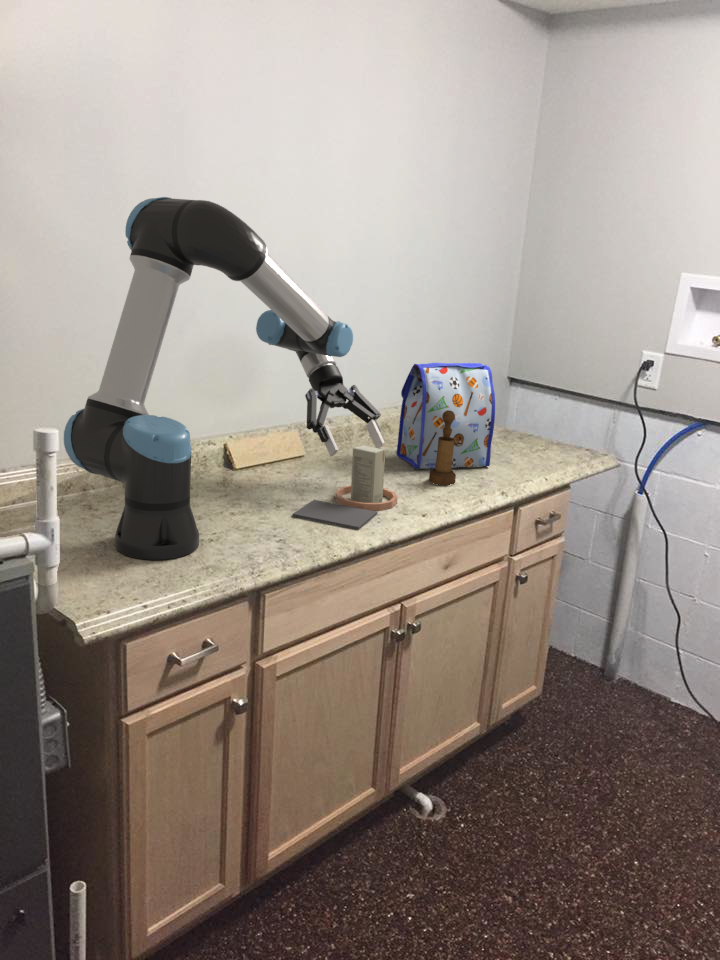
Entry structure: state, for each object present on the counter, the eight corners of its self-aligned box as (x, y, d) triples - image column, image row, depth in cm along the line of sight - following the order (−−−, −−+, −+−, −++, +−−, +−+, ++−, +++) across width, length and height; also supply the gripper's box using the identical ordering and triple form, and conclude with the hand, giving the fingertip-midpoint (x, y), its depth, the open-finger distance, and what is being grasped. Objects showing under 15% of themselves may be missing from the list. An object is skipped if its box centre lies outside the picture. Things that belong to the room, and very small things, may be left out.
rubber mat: (358, 529, 171) (359, 527, 171) (292, 516, 176) (292, 513, 176) (377, 514, 181) (377, 511, 181) (313, 502, 186) (314, 499, 186)
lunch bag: (462, 451, 237) (473, 357, 229) (494, 468, 223) (506, 368, 215) (390, 455, 228) (398, 357, 220) (418, 473, 214) (428, 368, 206)
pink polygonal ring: (384, 514, 181) (384, 508, 181) (326, 503, 186) (326, 496, 185) (403, 497, 193) (404, 491, 193) (349, 487, 198) (349, 481, 197)
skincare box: (383, 501, 190) (387, 449, 186) (372, 506, 186) (376, 453, 183) (359, 495, 193) (363, 443, 189) (348, 499, 189) (352, 447, 186)
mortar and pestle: (453, 487, 204) (461, 415, 199) (427, 484, 205) (434, 412, 200) (456, 480, 210) (463, 409, 205) (430, 476, 211) (437, 406, 206)
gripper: (355, 377, 208) (390, 451, 201) (271, 384, 192) (306, 464, 186) (371, 360, 202) (407, 435, 196) (285, 365, 187) (321, 447, 181)
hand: (358, 449), depth 191 cm, fingers open, 13 cm apart
